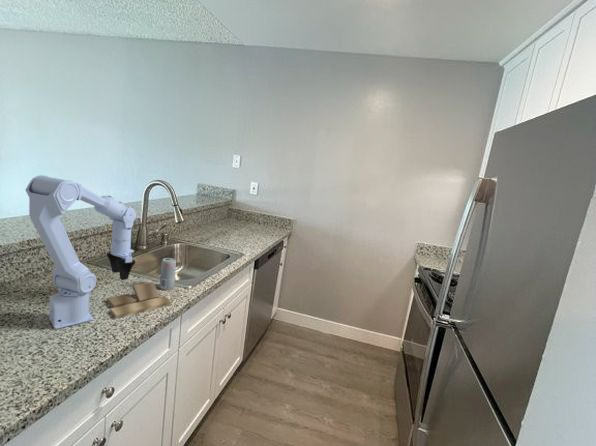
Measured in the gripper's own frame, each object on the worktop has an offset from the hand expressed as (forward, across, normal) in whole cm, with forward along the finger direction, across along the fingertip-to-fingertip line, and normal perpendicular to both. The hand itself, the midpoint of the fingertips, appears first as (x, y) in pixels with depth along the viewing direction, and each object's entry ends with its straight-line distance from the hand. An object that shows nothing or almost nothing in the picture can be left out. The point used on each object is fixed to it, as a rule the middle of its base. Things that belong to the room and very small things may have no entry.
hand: (119, 275), depth 107 cm
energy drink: (+9, 0, -18) cm, 20 cm away
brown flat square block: (+8, -4, +1) cm, 9 cm away
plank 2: (+7, -5, -7) cm, 11 cm away
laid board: (+8, -12, -3) cm, 15 cm away
